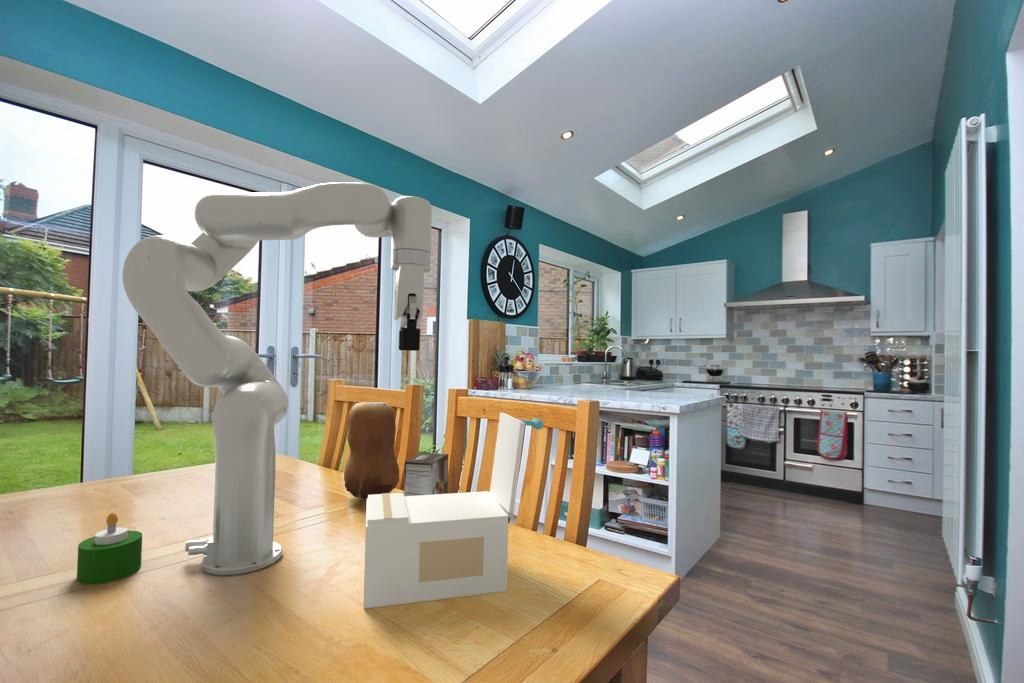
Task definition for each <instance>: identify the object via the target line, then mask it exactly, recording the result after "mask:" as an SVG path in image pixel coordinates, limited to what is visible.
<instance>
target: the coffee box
mask: <svg viewBox="0 0 1024 683" xmlns="http://www.w3.org/2000/svg"><path fill="white" fill-rule="evenodd" d="M448 475H449V453H433V452H432V453H431V452H421V453H419V454H416V455H415V456H413V457H411V458H409V459H407V460H406V461H404V480H403V481H404V485H403V486H404V487H403V488H404V490H403V491H404V492H403V495H404V496H418V495H434V494H448V493H449V492H448V485H449V484H448V483H449V480H448V479H449V478H448V477H449V476H448Z"/></svg>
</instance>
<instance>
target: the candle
mask: <svg viewBox="0 0 1024 683" xmlns="http://www.w3.org/2000/svg"><path fill="white" fill-rule="evenodd" d="M118 520H119V519H118V515H117V514H116V513H115V512H110V514H109V515H108V516H107V517H106V525H107V529H103V530H99V531H98V532H96V533H95V534H94V536H92V537H89V538H87V539H84V540H82V541H81V542H80V543H79V544H78V546H77V566H76V582H77V581H78V582H80V583H83V584H82V585H88V584H90V585H100V584H106V583H112V582H115V581H119V580H122V579H125V578H127V577H130V576H132V575H133V574H136V573H137V572H139V570H141V568H142V557H143V556H142V555H143V554H142V552H143V533H142V532H140V531H137V530H129V528H127V527H122V526H120V527H117V523H118ZM78 582H77V583H78ZM80 583H79V584H80Z"/></svg>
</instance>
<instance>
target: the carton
mask: <svg viewBox="0 0 1024 683" xmlns="http://www.w3.org/2000/svg"><path fill="white" fill-rule="evenodd" d="M365 508H366V510H365V512H366V513H365V515H366V516H365V541H364V543H365V544H364V547H365V548H364V573H363V574H364V578H363V579H364V580H363V609H364V610H365V609H373V608H381V607H390V606H396V605H403V604H404V605H406V604H413V603H414V604H415V603H422V602H427V601H437V600H444V599H453V598H462V597H469V596H477V595H479V596H480V595H485V594H493V593H500V592H502V593H503V592H507V591H508V590H507V589H508V556H509V555H508V554H509V553H508V547H509V546H508V545H509V543H508V542H509V517H508V515H507V514H506V512H505V511H504V510H503V509H502V507H501V506H500V505H499V504H498V503H497V501H496V500H495V499H494V498H493V497H492V495H491V494H490V493H489V491H488V490H486V491H471V492H470V491H469V492H454V493H452V492H451V493H447V494H434V495H418V496H404V492H395V493H394V492H393V493H391V492H390V493H382V494H374V495H368V499H366V507H365Z"/></svg>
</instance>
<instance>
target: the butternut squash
mask: <svg viewBox="0 0 1024 683" xmlns="http://www.w3.org/2000/svg"><path fill="white" fill-rule="evenodd" d="M349 410H350V411H349V413H348V420H347V421H348V422H347V424H348V425H347V426H348V428H347V431H348V432H347V442H348V446H349V455H348V458H347V460H346V463H345V466H344V472H343V474H344V475H343V478H344V479H343V482H344V487H345V489H346V492H349V494H351V495H352V496H353V497H354V498H356V499H361V500H367V499H368V495H374V494H382V493H389V494H391V492H392V491H393V490H395V489H396V487H397V486H398V484H399V482H400V467H399V463H398V460H397V458H396V454H395V442H396V431H397V430H396V427H397V426H396V418H395V416H396V415H395V412H394V409H393V407H392V405H390V404H389V403H387V402H382V401H374V402H371V401H368V402H366V401H362V402H358V403H355V404H353V405H352V407H351V408H350V409H349Z"/></svg>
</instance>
